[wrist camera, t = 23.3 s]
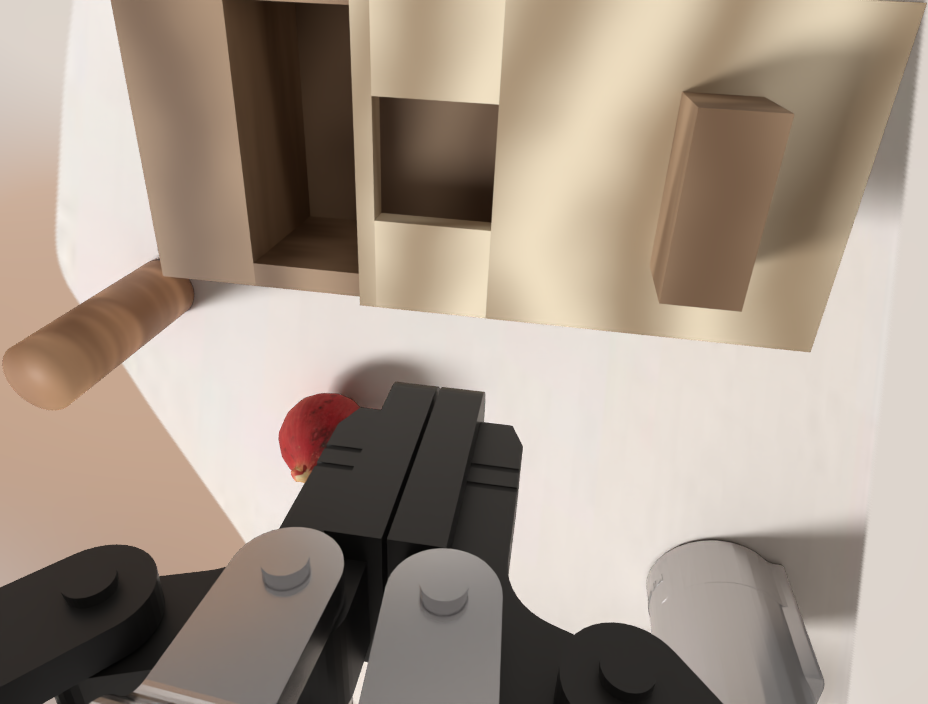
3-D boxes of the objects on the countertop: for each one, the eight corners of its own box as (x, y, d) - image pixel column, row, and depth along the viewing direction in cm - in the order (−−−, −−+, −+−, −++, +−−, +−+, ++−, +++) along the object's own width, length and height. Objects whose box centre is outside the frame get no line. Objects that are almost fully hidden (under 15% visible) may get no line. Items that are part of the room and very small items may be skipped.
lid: (911, 2, 24) (989, 4, 19) (802, 339, 30) (841, 400, 26) (356, -24, 26) (310, -27, 21) (367, 295, 33) (332, 343, 28)
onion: (339, 356, 45) (295, 422, 39) (398, 412, 47) (366, 486, 40) (287, 400, 48) (238, 469, 41) (345, 452, 49) (306, 528, 42)
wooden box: (590, -16, 33) (593, -19, 25) (559, 252, 40) (554, 316, 32) (209, -34, 35) (102, -41, 27) (240, 223, 42) (162, 276, 34)
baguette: (189, 264, 44) (64, 350, 33) (197, 318, 46) (82, 415, 35) (133, 256, 44) (-7, 339, 34) (143, 310, 46) (13, 404, 36)
